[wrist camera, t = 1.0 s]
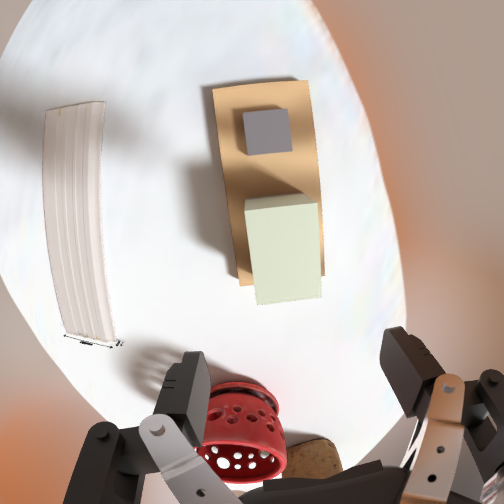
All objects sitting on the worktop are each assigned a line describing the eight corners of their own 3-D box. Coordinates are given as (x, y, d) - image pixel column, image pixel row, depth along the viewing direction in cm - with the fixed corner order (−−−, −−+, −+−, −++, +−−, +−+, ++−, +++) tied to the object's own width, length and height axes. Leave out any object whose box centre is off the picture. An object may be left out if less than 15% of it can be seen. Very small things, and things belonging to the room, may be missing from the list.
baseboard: (119, 101, 25) (52, 111, 24) (107, 97, 22) (39, 110, 22) (127, 340, 35) (70, 327, 34) (120, 352, 32) (61, 338, 32)
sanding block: (245, 198, 26) (244, 210, 21) (302, 192, 26) (317, 202, 21) (255, 275, 29) (256, 305, 23) (308, 269, 29) (321, 296, 23)
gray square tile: (242, 114, 24) (242, 112, 23) (285, 110, 24) (287, 108, 22) (248, 155, 25) (248, 155, 24) (290, 151, 25) (292, 151, 24)
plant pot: (281, 369, 36) (291, 441, 24) (278, 423, 40) (284, 483, 29) (186, 370, 36) (169, 439, 24) (200, 423, 40) (191, 482, 29)
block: (335, 433, 42) (357, 524, 23) (335, 450, 44) (353, 530, 25) (277, 444, 42) (285, 538, 24) (283, 460, 45) (290, 542, 26)
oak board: (214, 92, 24) (212, 89, 23) (304, 83, 24) (307, 80, 23) (240, 280, 31) (240, 286, 30) (321, 270, 31) (324, 275, 29)
